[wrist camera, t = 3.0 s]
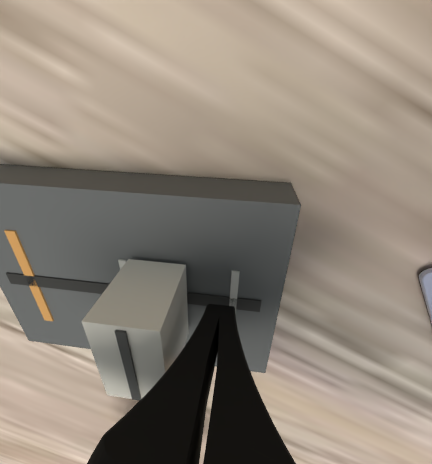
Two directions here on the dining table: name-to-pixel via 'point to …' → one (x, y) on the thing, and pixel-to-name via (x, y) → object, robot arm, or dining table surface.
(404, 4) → the dining table surface
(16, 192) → the console
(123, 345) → the fader
